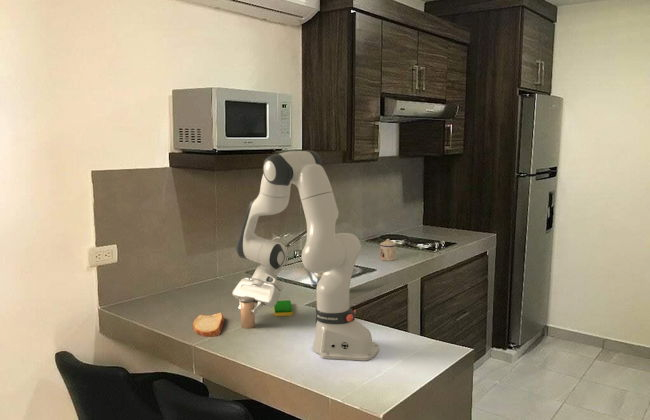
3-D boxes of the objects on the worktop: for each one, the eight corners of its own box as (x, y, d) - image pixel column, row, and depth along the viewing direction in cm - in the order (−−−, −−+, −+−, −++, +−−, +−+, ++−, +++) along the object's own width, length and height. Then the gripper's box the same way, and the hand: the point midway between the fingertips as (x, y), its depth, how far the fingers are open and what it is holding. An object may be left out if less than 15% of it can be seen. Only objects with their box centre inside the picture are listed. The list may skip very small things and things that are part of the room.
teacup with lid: (378, 257, 319) (378, 237, 317) (394, 257, 320) (394, 237, 318) (382, 262, 307) (382, 242, 305) (398, 262, 308) (399, 241, 306)
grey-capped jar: (257, 324, 213) (256, 296, 212) (251, 329, 208) (250, 301, 207) (245, 322, 215) (244, 295, 214) (238, 327, 210) (237, 299, 209)
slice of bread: (211, 339, 200) (210, 329, 199) (177, 330, 210) (176, 320, 209) (244, 324, 215) (244, 315, 214) (211, 316, 225) (211, 307, 224)
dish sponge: (290, 305, 237) (290, 300, 237) (292, 316, 223) (292, 310, 223) (273, 306, 236) (273, 300, 236) (274, 317, 223) (274, 311, 222)
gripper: (239, 272, 221) (222, 302, 214) (278, 280, 209) (262, 312, 203) (247, 280, 225) (231, 310, 219) (286, 288, 213) (270, 320, 207)
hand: (246, 311), depth 211 cm, fingers closed on grey-capped jar, 5 cm apart
